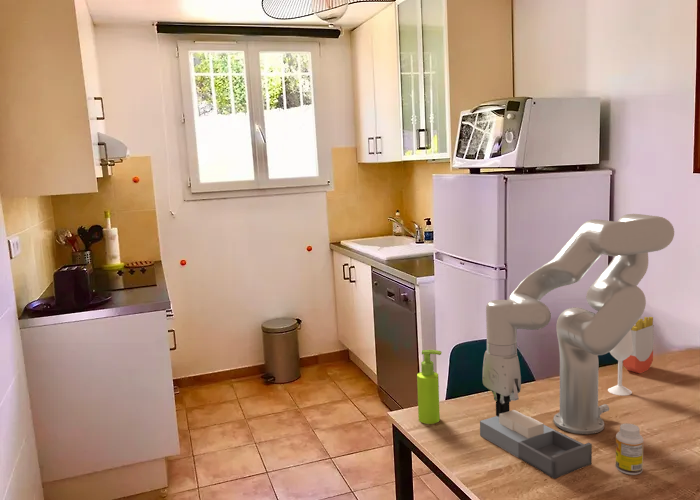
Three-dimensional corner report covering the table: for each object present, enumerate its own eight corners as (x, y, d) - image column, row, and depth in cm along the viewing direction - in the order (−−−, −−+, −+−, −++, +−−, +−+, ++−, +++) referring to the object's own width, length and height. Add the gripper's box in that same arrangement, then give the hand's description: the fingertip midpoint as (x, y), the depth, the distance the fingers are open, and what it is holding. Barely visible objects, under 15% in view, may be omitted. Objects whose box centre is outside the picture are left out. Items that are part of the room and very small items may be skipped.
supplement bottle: (619, 461, 133) (620, 419, 132) (645, 468, 130) (646, 425, 128) (612, 471, 129) (612, 428, 128) (639, 478, 126) (640, 434, 124)
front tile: (529, 425, 145) (529, 416, 144) (543, 433, 140) (543, 423, 140) (513, 430, 143) (513, 420, 142) (527, 438, 138) (527, 428, 138)
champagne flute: (607, 394, 172) (608, 316, 168) (607, 386, 178) (608, 310, 175) (632, 396, 169) (634, 317, 166) (631, 388, 175) (632, 312, 172)
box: (554, 445, 142) (554, 426, 142) (591, 464, 133) (591, 443, 132) (518, 458, 137) (518, 438, 136) (553, 478, 127) (553, 457, 127)
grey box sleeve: (514, 424, 155) (514, 410, 154) (554, 445, 142) (554, 430, 142) (480, 435, 149) (479, 421, 149) (518, 458, 137) (518, 442, 136)
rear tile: (514, 418, 149) (514, 409, 149) (528, 425, 145) (527, 416, 144) (499, 423, 147) (499, 413, 147) (512, 430, 142) (512, 421, 142)
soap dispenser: (442, 424, 157) (441, 354, 154) (417, 423, 158) (415, 353, 155) (443, 415, 162) (441, 347, 160) (419, 414, 164) (417, 347, 161)
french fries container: (621, 371, 189) (622, 319, 187) (639, 364, 195) (640, 313, 193) (635, 375, 185) (636, 321, 183) (653, 367, 191) (654, 315, 189)
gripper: (471, 343, 152) (473, 409, 155) (510, 358, 139) (511, 430, 141) (493, 338, 155) (494, 403, 158) (533, 353, 142) (534, 423, 145)
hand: (502, 415), depth 150 cm, fingers closed
